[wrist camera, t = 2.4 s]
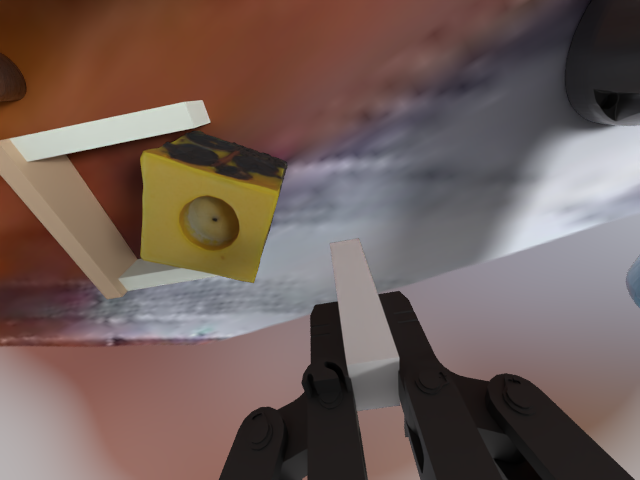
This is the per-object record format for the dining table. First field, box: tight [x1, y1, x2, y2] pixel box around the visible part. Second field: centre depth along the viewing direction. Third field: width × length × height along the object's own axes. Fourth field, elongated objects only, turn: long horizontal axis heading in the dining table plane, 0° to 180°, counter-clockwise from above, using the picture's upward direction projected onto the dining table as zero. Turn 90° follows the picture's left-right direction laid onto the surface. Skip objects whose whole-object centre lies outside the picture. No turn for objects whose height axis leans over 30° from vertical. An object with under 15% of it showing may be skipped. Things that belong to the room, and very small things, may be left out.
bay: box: [0, 100, 219, 299], centre depth 27 cm, size 18×18×5 cm
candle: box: [140, 131, 287, 283], centre depth 25 cm, size 10×10×10 cm
